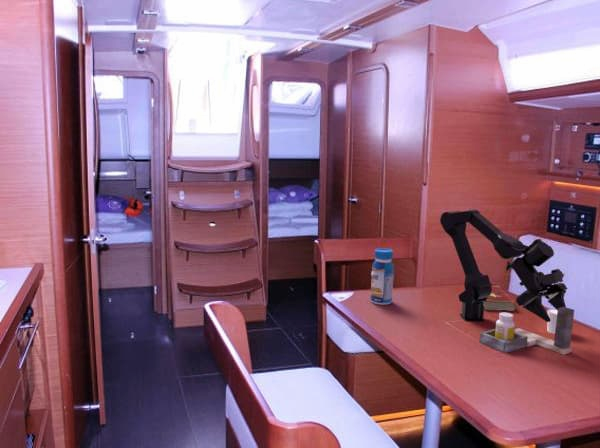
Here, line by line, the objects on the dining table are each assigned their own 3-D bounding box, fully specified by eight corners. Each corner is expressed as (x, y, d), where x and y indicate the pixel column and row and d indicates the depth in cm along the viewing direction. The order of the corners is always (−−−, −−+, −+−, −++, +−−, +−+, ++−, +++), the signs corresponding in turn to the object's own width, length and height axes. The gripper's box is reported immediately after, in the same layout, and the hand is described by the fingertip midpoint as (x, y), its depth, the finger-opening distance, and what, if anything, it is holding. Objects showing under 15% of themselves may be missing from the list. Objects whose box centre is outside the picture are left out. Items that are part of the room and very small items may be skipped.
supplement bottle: (512, 343, 168) (515, 312, 167) (513, 349, 163) (516, 318, 161) (494, 340, 170) (497, 310, 168) (494, 347, 165) (497, 316, 163)
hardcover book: (499, 295, 219) (499, 285, 219) (514, 312, 199) (515, 301, 198) (468, 294, 220) (469, 284, 220) (481, 311, 200) (482, 299, 199)
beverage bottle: (394, 305, 201) (397, 252, 198) (371, 305, 201) (373, 252, 198) (390, 298, 210) (393, 247, 206) (368, 298, 210) (371, 247, 206)
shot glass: (570, 337, 175) (573, 316, 173) (547, 335, 176) (550, 314, 175) (564, 329, 181) (567, 309, 180) (542, 327, 183) (545, 307, 181)
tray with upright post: (479, 342, 168) (483, 301, 166) (515, 331, 178) (519, 293, 175) (535, 364, 152) (540, 320, 150) (571, 351, 162) (576, 310, 160)
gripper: (528, 264, 159) (560, 310, 152) (564, 257, 170) (596, 300, 162) (502, 283, 167) (532, 329, 160) (538, 276, 177) (568, 318, 170)
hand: (558, 318), depth 163 cm, fingers open, 9 cm apart
